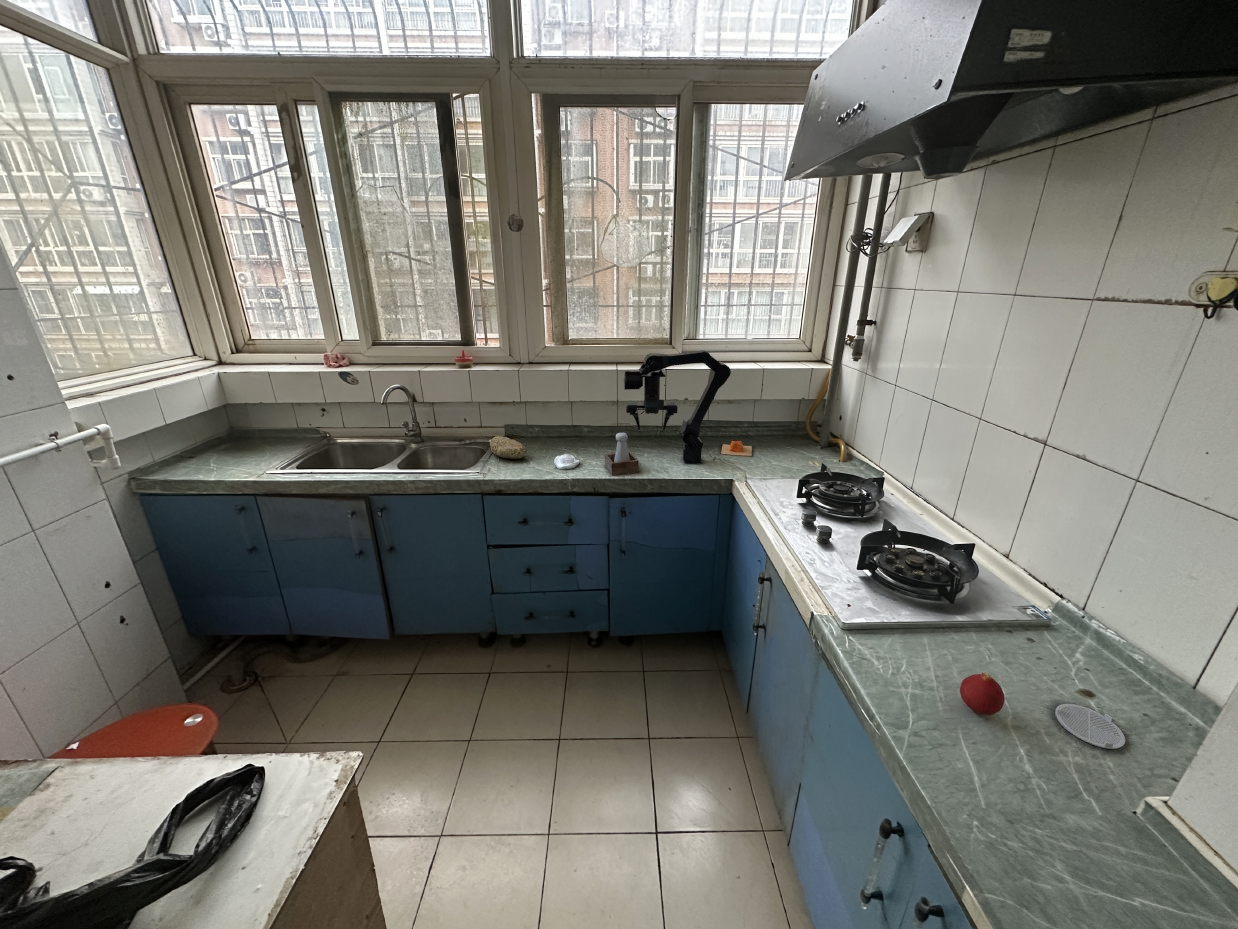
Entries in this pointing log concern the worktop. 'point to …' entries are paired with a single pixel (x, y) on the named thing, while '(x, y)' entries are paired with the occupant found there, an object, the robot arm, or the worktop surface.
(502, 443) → the tan oval lump
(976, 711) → the onion
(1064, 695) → the worktop surface
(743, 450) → the board with orange mound
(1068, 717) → the drain cover
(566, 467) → the white lumpy mound
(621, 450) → the salt shaker
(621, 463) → the box
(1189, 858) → the worktop surface
